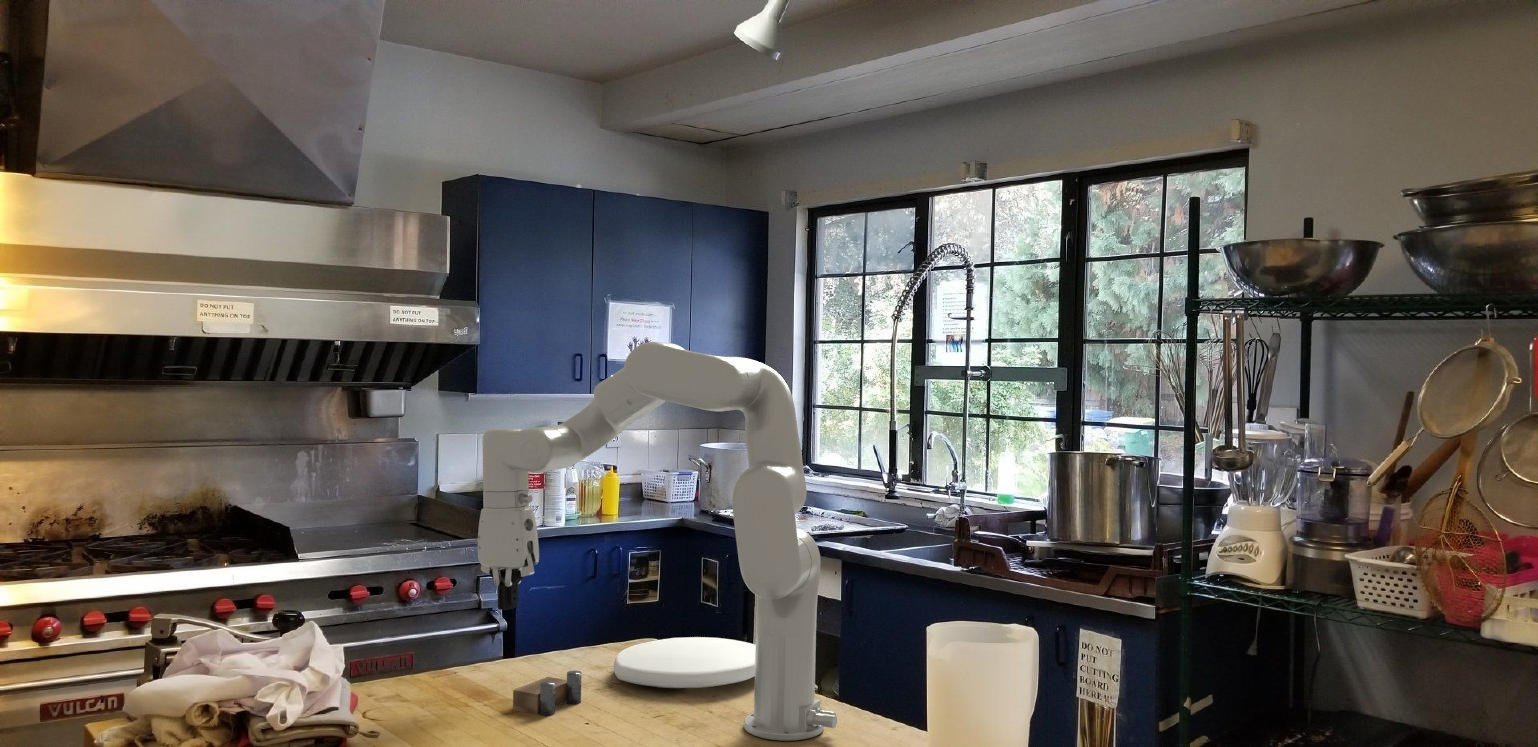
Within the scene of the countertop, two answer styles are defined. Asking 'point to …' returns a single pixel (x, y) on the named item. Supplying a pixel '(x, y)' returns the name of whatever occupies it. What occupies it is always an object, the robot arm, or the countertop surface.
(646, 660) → the white thick disc
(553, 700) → the bench dogs
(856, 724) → the countertop surface
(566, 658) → the countertop surface
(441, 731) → the countertop surface
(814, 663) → the robot arm
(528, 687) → the block
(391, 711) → the countertop surface
